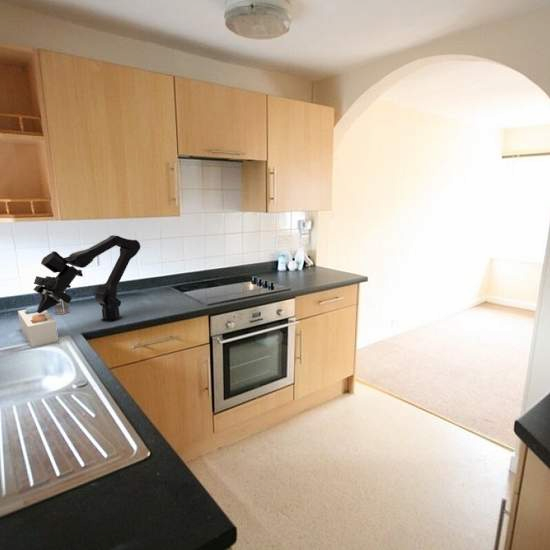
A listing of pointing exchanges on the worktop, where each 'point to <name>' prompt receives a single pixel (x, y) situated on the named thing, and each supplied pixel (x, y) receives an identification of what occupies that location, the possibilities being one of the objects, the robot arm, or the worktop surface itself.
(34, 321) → the terracotta button
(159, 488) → the worktop surface
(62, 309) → the pill bottle
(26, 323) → the white slotted box
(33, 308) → the slate button
